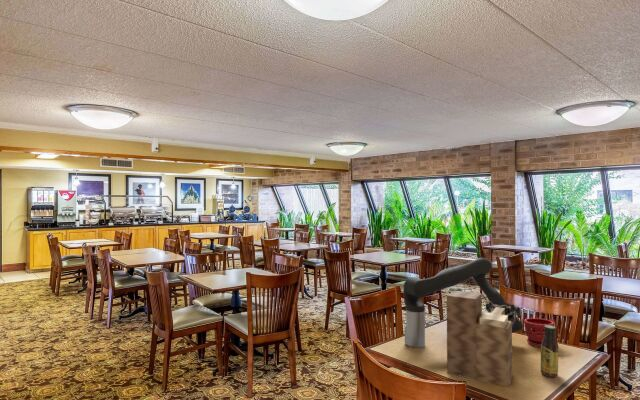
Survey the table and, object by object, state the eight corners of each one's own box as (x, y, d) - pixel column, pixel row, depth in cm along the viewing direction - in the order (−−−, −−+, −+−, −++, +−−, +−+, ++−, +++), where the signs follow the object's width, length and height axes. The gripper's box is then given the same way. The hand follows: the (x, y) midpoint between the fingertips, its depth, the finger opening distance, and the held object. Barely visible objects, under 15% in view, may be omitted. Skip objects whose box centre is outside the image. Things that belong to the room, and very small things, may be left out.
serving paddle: (479, 324, 155) (479, 317, 155) (489, 311, 173) (489, 306, 173) (504, 328, 150) (504, 321, 150) (511, 314, 168) (511, 309, 168)
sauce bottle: (537, 371, 162) (536, 324, 162) (551, 371, 162) (550, 323, 163) (547, 378, 155) (547, 328, 155) (562, 378, 156) (561, 328, 156)
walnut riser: (447, 372, 161) (446, 295, 161) (454, 363, 171) (454, 290, 171) (508, 386, 148) (507, 302, 149) (512, 375, 158) (511, 296, 159)
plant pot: (554, 343, 196) (554, 319, 196) (554, 351, 185) (553, 326, 185) (525, 338, 203) (525, 315, 203) (523, 346, 192) (523, 321, 192)
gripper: (490, 305, 189) (484, 294, 177) (523, 310, 181) (519, 298, 170) (489, 321, 186) (483, 310, 174) (522, 326, 178) (518, 315, 166)
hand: (501, 304), depth 172 cm, fingers open, 8 cm apart
